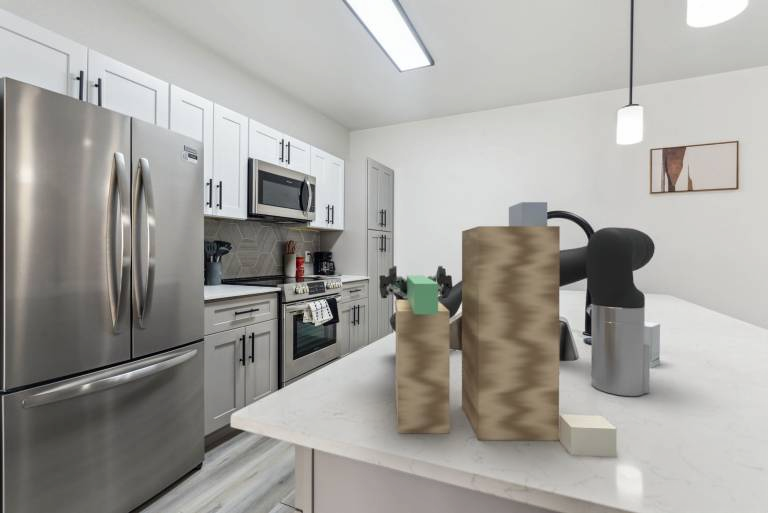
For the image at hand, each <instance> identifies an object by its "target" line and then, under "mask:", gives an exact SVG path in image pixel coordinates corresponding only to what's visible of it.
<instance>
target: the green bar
mask: <svg viewBox="0 0 768 513" xmlns="http://www.w3.org/2000/svg"><path fill="white" fill-rule="evenodd" d="M427 277H428V276H426V275H406V280H407V300H408V302H409V304H410V306H411V308H412V310H413V312H414V314H438V297H439V295H438V283H437V281H436V282H434V281H433V280H431V279H429V278H427Z"/></svg>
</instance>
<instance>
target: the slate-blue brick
mask: <svg viewBox="0 0 768 513" xmlns="http://www.w3.org/2000/svg"><path fill="white" fill-rule="evenodd" d="M508 226H548V202H546V201H545V202H544V201H540V202H539V201H535V202H533V201H532V202H531V201H530V202H527V201H525V202H524V201H522V202H519V203H516V204H514V205H510V206H508Z"/></svg>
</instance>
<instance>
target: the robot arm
mask: <svg viewBox="0 0 768 513" xmlns="http://www.w3.org/2000/svg"><path fill="white" fill-rule="evenodd" d="M655 249H656V247H655V243H654V241H653V239H652V238H651V237H650V235H648V233H647V234H646V233H645V232H643V231H641V230H639V229H636V228H635V229H634V228H631V227H630V228H629V227H603V228H600V229H598V230H596V231H595V232H594V233H592V235H590V237H589V239H588V241H587V245H585V246H581V247H575V248H567V249H560V267H559V288H561V287H564V286H568V285H571V284H574V283H577V282H579V281H582V280H586V283H587V284H586V285H587V290H588V292H589V294H590V296H591V349H590V350H591V351H590V352H591V360H590V361H591V364H590V366H591V367H590V368H591V369H590V370H591V371H590V372H591V373H590V378H591V382H590V383H591V386H593V388H595V389H597V390H599V391H602V392H604V393H608V394H613V395H618V396H624V397H638V396H643V395H645V394H650V377H651V376H650V373H651V372H650V369H651V368H650V347H649V345H647V344H645V322H644V321H646V320H645V319H646V318H645V315H646V314H645V311H646V308H645V306H646V305H645V304H646V300H645V299H646V298H645V297H646V296H645V294H644V293H643V292H642V291H641V290H640V289H638V288H637V286H636V285H635V281H634V271H637V270H638V271H639V269H640V270H641V269H642V268H643V267H645V266H646V265H647V264H649V262H650V261H652V260H651V259H652V258H653V256H654V254H655ZM446 271H447V270H446V268H444V267H443V265H438V266H437V269H436V273H435V275H433V276H431V275H429V276H426V277H427V278H429V279H431V280H433V281H434V282H436V283H438V301H439V302H440V303H441V304H442V305H443V306H444V307H445V308H447V309H448V310H449V311H450V320H451V319H452V318H453V317H454V316H455V315H456V314H457V313H458V311H459V309H460V308H461V306H462V279H461V280H460V281H458V282H457V283H455V285H454V284H453V278H452V275H447V274H446V273H447V272H446ZM378 285H379V286H378V287H379V293H380V297H381V299H387V298H388V296H394V297H395V301H394V304H395V310H396V300H407V278H405V277H403V276H401V275H399V276H398V275H397V265H392V267H391V268H389V269H388V276H386V275H385V274H384V275H379V284H378ZM389 324H390V326H391V328H392V329H393V331H394V332H395V333H396V311H395V312H394V313H393V314H392V315H391V316H390V318H389Z"/></svg>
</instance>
